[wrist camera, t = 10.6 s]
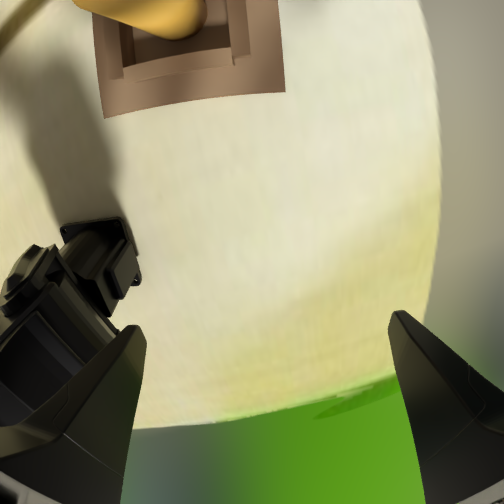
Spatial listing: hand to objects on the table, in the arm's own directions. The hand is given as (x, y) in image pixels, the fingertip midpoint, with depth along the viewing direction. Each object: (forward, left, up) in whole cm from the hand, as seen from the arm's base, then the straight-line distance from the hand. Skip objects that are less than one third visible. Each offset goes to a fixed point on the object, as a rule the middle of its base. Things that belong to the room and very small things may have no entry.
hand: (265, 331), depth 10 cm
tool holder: (-4, +13, -13) cm, 19 cm away
